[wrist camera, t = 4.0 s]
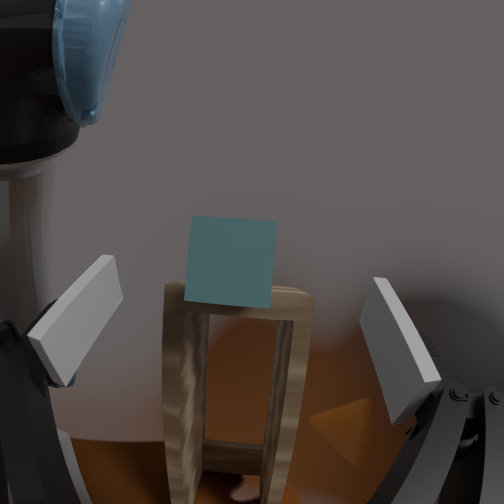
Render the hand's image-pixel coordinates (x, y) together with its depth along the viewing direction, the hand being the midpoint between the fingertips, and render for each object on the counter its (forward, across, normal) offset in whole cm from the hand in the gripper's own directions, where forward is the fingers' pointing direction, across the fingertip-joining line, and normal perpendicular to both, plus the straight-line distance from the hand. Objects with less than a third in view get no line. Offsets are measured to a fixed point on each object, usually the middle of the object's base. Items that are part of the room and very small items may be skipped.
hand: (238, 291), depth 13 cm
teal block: (+9, 0, -6) cm, 11 cm away
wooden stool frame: (-2, 0, -35) cm, 35 cm away
